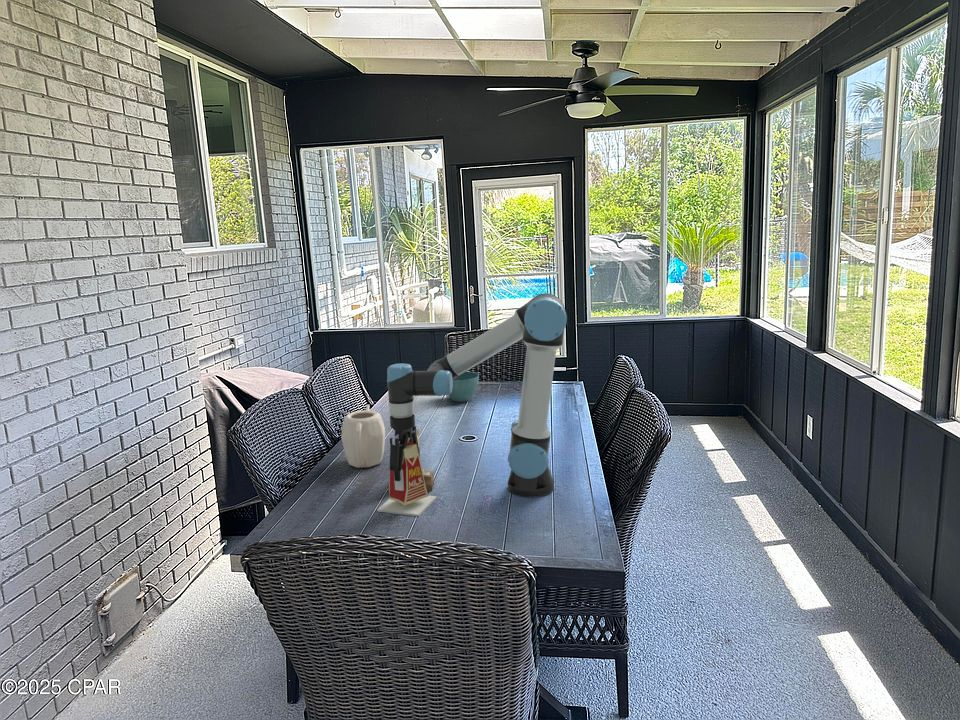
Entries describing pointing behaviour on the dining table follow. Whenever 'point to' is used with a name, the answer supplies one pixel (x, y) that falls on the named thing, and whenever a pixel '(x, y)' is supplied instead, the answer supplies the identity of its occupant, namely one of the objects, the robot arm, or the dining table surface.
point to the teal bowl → (464, 386)
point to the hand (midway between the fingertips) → (406, 483)
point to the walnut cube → (429, 479)
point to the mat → (407, 506)
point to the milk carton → (409, 478)
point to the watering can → (363, 438)
